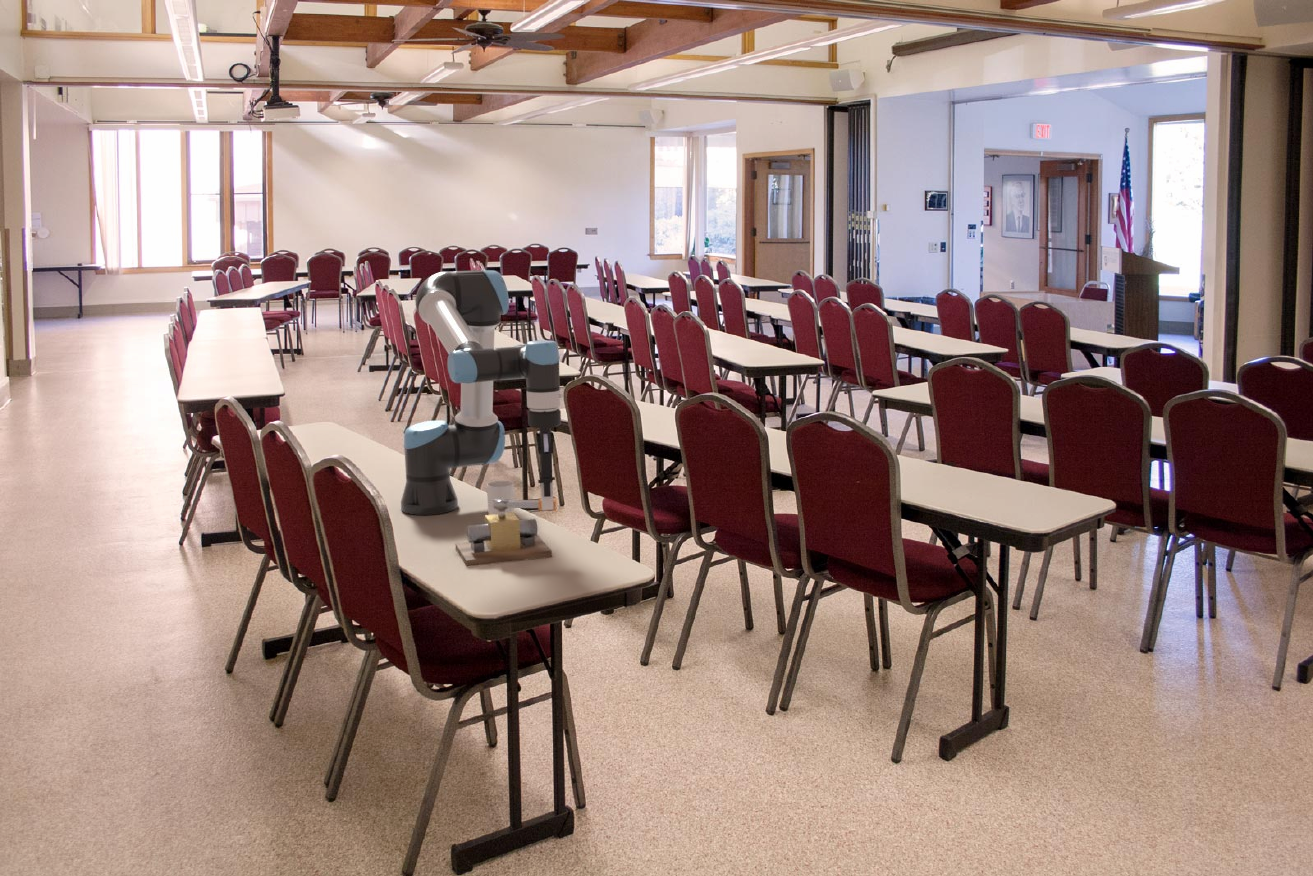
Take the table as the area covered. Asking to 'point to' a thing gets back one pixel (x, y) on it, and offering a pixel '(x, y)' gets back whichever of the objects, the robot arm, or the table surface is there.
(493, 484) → the mug
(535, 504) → the valve lever
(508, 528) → the valve body
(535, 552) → the base board
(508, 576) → the table surface
